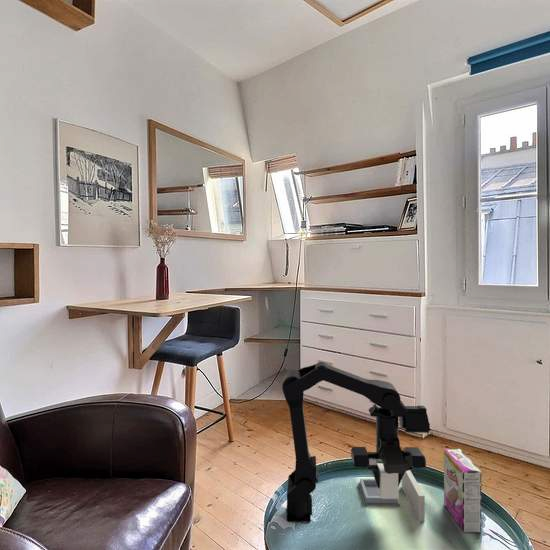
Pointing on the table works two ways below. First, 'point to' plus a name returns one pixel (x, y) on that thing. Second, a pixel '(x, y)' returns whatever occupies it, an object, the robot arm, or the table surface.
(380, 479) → the block
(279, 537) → the table surface
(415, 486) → the wall stub
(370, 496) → the frame
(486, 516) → the table surface
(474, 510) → the candy bar box
